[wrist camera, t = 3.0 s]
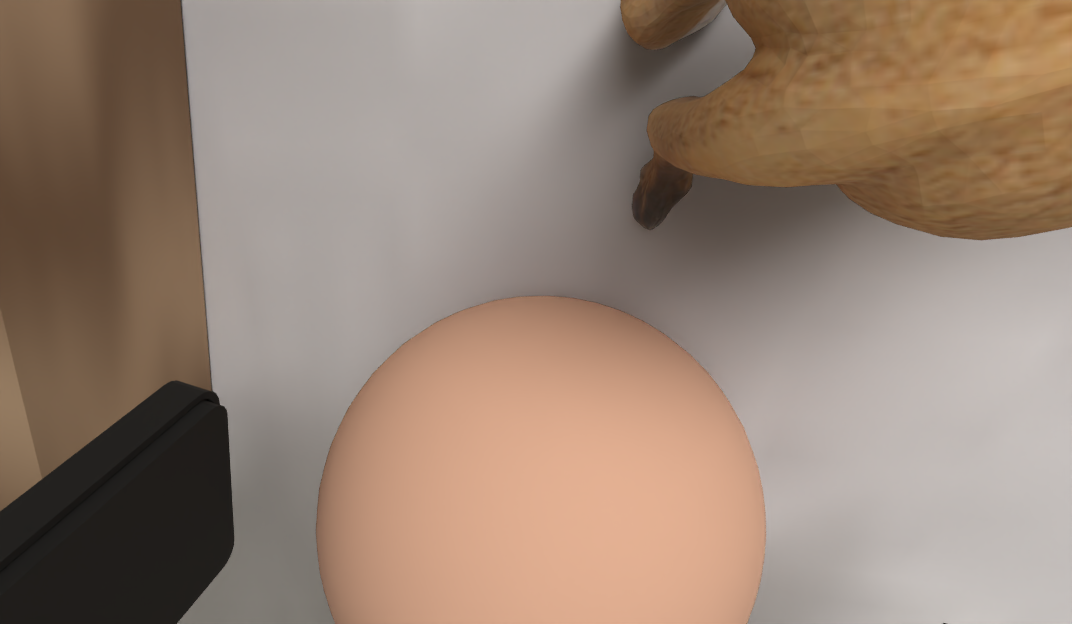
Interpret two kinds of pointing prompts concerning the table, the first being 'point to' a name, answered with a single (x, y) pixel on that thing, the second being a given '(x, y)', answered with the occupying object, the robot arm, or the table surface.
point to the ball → (540, 478)
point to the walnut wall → (92, 225)
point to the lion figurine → (878, 109)
